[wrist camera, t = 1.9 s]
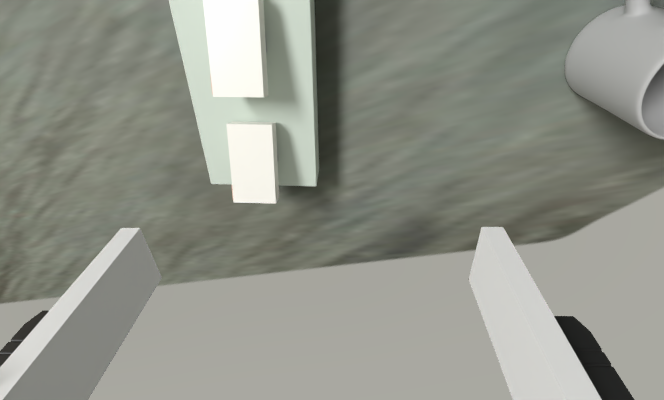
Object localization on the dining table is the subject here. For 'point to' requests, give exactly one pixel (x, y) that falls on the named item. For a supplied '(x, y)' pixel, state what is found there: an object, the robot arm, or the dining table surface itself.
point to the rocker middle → (236, 47)
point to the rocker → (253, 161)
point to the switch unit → (279, 106)
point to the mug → (623, 64)
